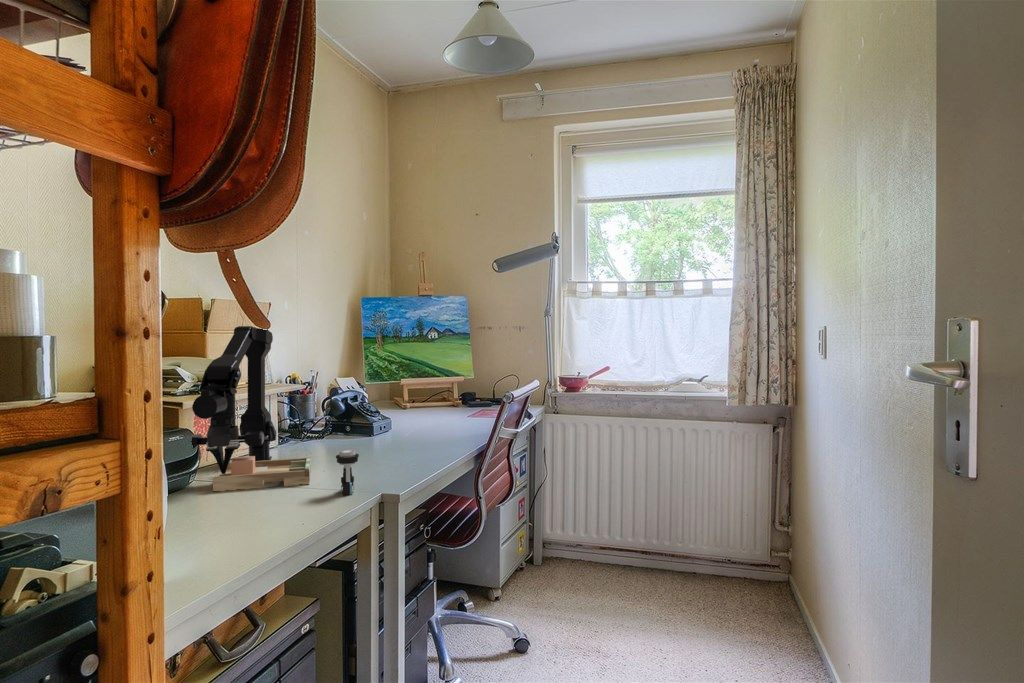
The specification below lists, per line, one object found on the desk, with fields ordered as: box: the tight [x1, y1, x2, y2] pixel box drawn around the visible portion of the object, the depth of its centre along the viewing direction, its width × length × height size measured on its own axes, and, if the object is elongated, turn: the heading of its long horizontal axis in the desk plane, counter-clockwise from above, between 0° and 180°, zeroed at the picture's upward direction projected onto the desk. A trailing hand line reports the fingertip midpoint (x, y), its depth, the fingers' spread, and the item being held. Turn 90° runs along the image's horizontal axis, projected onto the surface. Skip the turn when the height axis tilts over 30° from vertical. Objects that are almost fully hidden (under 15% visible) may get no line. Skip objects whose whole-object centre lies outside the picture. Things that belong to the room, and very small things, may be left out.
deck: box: [212, 455, 312, 492], centre depth 151 cm, size 16×22×4 cm
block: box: [230, 455, 256, 475], centre depth 149 cm, size 5×5×4 cm
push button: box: [335, 449, 360, 496], centre depth 140 cm, size 7×5×10 cm
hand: (223, 473), depth 148 cm, fingers closed
